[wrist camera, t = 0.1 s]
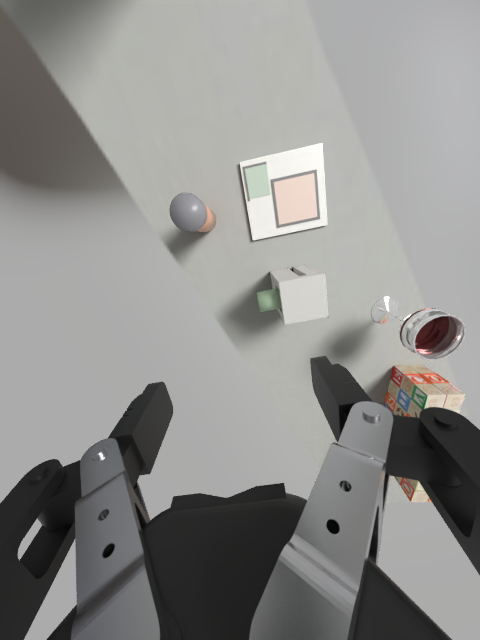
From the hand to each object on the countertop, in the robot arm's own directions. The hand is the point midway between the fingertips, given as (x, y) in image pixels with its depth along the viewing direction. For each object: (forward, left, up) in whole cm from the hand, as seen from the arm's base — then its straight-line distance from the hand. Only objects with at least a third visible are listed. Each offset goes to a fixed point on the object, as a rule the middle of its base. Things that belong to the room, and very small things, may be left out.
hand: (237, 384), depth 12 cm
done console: (+2, +8, -29) cm, 30 cm away
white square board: (-12, +9, -29) cm, 33 cm away
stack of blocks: (+33, +28, -30) cm, 52 cm away
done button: (+2, +4, -24) cm, 24 cm away
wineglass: (+10, +25, -29) cm, 40 cm away
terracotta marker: (-11, -4, -29) cm, 31 cm away
